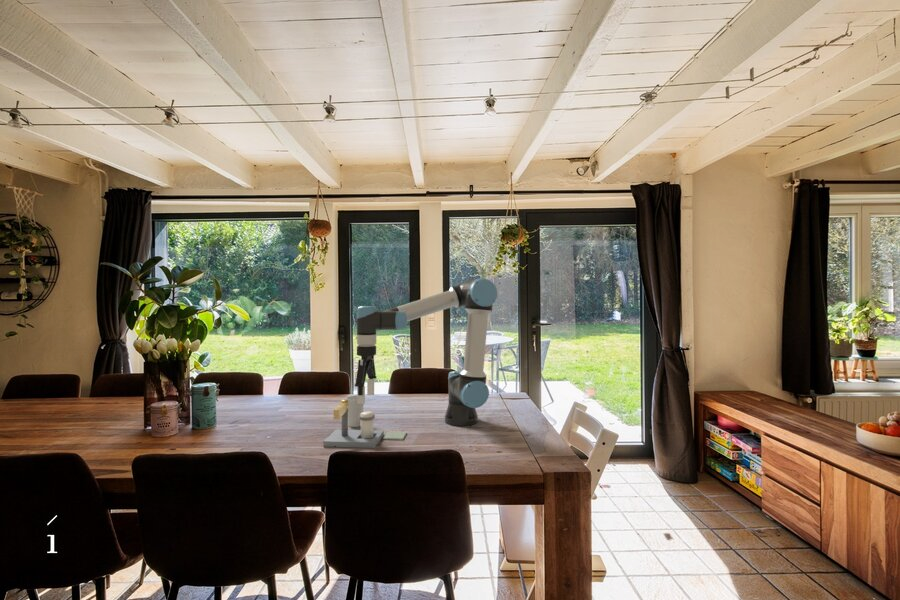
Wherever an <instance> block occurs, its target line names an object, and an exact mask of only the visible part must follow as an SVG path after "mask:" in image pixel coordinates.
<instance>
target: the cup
mask: <svg viewBox="0 0 900 600" xmlns="http://www.w3.org/2000/svg"><path fill="white" fill-rule="evenodd" d="M345 399H348V400H349V410H348V427H351V428H352V427H353V428H357V427H361V420H360V419H359V416H360V415H361V413H362V412H364V405H365V404H357V395H351V396H347V397H345Z"/></svg>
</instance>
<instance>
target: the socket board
mask: <svg viewBox="0 0 900 600" xmlns="http://www.w3.org/2000/svg"><path fill="white" fill-rule="evenodd" d="M384 432H385V430H383V429H381V430H380V429H379V430H378V429H374V438H373V439H361V429H349V426H348V411H346V412H345V413H344V414H343V416H342V417H341V429H340V428H339V429H338V428H337V429H335V430H334V431H333V432H331V433H330V434H329V435H328V436H327V437H326V438H324V440H323V441H322V444H323V445H322V446H323V447H325V448H326V447H327V448H328V447H329V448H330V447H331V448H365V449H366V448H368V449H369V448H370V449H371V448H372V449H375V448H376V447H377V446H378V444H379V442H380V441H381V440H382V439H383V438H384V436H385V433H384ZM334 446H336V447H334Z"/></svg>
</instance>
